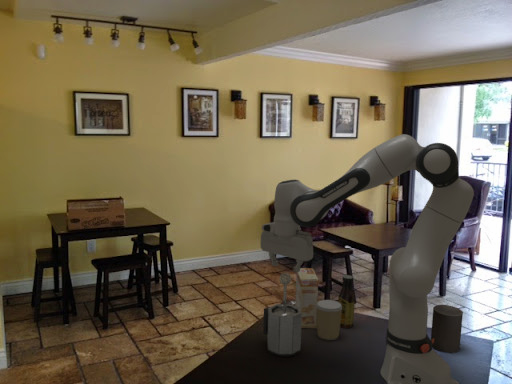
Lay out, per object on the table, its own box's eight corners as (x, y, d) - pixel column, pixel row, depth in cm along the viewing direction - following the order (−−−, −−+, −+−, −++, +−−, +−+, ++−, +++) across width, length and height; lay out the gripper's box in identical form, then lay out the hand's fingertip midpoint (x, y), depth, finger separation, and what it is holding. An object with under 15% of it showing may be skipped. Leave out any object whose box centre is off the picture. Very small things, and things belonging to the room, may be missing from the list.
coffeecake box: (317, 328, 172) (318, 279, 169) (298, 328, 172) (299, 279, 169) (311, 313, 187) (313, 267, 184) (294, 313, 187) (295, 267, 184)
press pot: (306, 348, 155) (307, 310, 153) (286, 360, 147) (287, 319, 145) (275, 336, 165) (276, 299, 163) (254, 346, 156) (255, 308, 155)
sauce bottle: (334, 323, 177) (336, 274, 175) (348, 321, 179) (350, 273, 177) (342, 329, 171) (344, 279, 169) (356, 328, 173) (358, 278, 170)
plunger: (300, 314, 154) (301, 273, 152) (286, 320, 148) (287, 278, 146) (282, 308, 159) (283, 268, 157) (268, 314, 153) (269, 273, 151)
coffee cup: (339, 330, 170) (341, 300, 169) (342, 341, 161) (343, 309, 160) (315, 329, 171) (316, 298, 170) (315, 340, 162) (316, 308, 161)
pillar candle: (424, 343, 160) (427, 303, 158) (443, 338, 165) (446, 299, 163) (446, 356, 152) (450, 313, 150) (466, 350, 156) (469, 308, 154)
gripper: (318, 231, 145) (316, 273, 147) (270, 222, 159) (268, 260, 160) (306, 234, 140) (305, 277, 142) (258, 224, 154) (257, 264, 156)
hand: (285, 268), depth 151 cm, fingers open, 8 cm apart
